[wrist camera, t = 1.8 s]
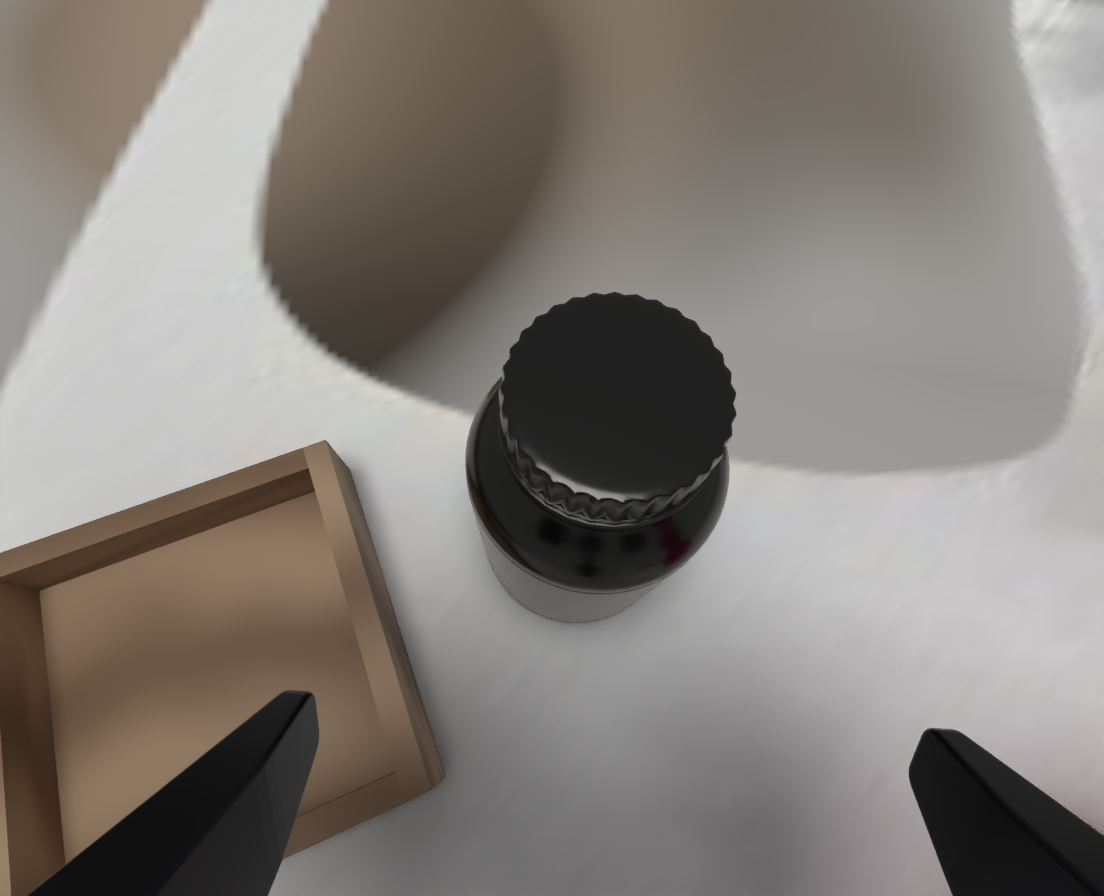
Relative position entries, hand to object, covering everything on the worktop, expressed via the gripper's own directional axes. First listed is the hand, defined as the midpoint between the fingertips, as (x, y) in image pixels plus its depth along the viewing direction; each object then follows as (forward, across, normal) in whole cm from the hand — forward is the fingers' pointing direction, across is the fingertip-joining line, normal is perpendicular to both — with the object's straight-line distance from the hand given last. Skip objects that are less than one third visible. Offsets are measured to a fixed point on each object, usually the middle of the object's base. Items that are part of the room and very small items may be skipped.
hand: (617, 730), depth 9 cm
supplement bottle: (+13, 0, +5) cm, 14 cm away
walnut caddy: (+9, +12, +9) cm, 17 cm away
